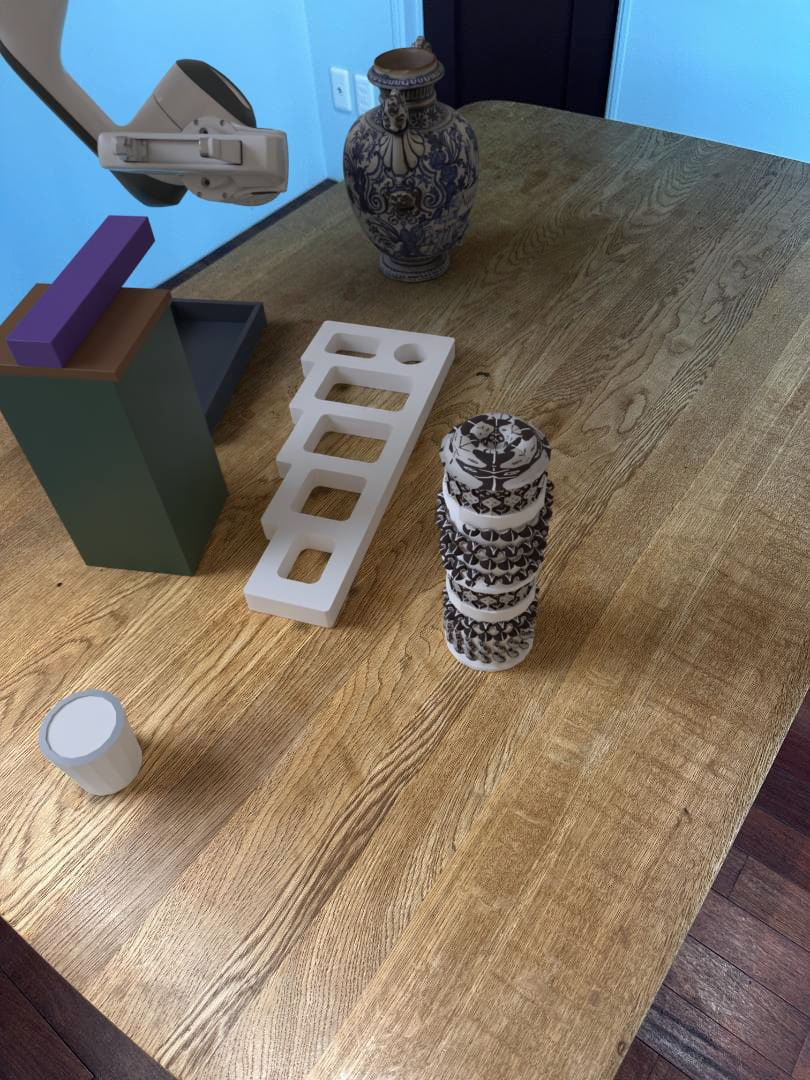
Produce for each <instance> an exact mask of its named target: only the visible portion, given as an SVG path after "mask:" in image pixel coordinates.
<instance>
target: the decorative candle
mask: <svg viewBox="0 0 810 1080" xmlns="http://www.w3.org/2000/svg"><path fill="white" fill-rule="evenodd" d="M438 454H439V458H440V460H441V461H440V462H441V464H442V467H443V469H444V473H443V474H444V475H443V478H442V489H440V490H439V491H437V494H436V500H437V502H438V505H436V506H435V514H436V516H437V518H436V519H435V523H436V526H437V527H438V528H439V529H440V534H439V536H438V543H439V545H440V546H439V548H438V552H439V553H440V555H441V558H442V566H443V568H444V569H445V572H446V575H445V577H444V584H445V586H444V587H443V588H442V591H441V595H442V596H443V597H444V599H443V600H442V605H443V607H444V609H443V612H442V618H443V623H442V626H443V629H444V638H445V642H446V645H447V649H448V650H449V652H450V654H452V655H453V656H454V658H455V659H456V660H457V661H458V662H459V663H461V664H463V665H464V666H466V667H468V668H470V669H472V670H473V671H482V672H487V673H495V672H501V671H506V670H510V669H512V668H513V667H516V665H518V664H519V663H522V662H524V660H525V659H526V658H527V656H528V655H529V653H530V651H531V650H532V649H533V644H534V638H535V637H536V633H535V629H536V628H537V621H536V620H535V618H536V617H537V616H538V610H537V607H538V606H539V598H538V597H537V596H538V595H540V590H541V588H540V587H539V586H538V584H537V579H538V573H539V571H540V570H541V568H542V563H543V562H544V559H545V556H544V551H545V549H546V548H547V546H548V540H547V538H546V537H547V536H548V535H549V531H550V525H549V521H550V519H551V518H552V517H553V513H554V512H553V508H552V506H553V504H554V497H555V496H554V495H553V493H551V492H552V491H553V490H554V489H555V484H554V483H553V481H552V480H550V479H548V477H549V473H548V471H547V470H546V469H547V468H548V467H549V466H550V462H551V455H552V448H551V445H550V443H549V441H548V438H547V437H546V435H545V434H544V432H542V431H540V429H538V428H537V427H536V426H535V425H533V424H532V423H530V422H528V421H525V420H524V419H523V418H521V417H518V416H516V415H513V414H510V413H507V412H506V413H505V412H495V411H492V412H486V413H480V414H477V415H475V416H472V417H471V418H469V419H467V420H465V421H463V422H461V423H459V424H457V425H455V426H453V428H451V430H449V432H448V433H447V434H445V436H444V437H443V438H442V441H441V445H440V449H439V452H438Z"/></svg>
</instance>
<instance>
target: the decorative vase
mask: <svg viewBox="0 0 810 1080" xmlns="http://www.w3.org/2000/svg"><path fill="white" fill-rule="evenodd" d="M431 45H432V44H431V43H430V42H428V41H427V40H426V39H425V37H424V36H423V35H418V36H417V37H416V40H415V41H414V42H412V43H411V45H410V46H409V47H400V48H399V47H398V48H393V49H389V50H387V51H384V52H382V53H380V54H379V55H378V56H376V57H375V58H374V60H373V65H371V66H370V67H369V69H368V70H367V74H366V78H367V80H368V82H369V83H370V84H371V85H373V86H375V87H377V88H378V89H379V92H380V93H379V94H378V97H377V98H378V101H379V103H380V104H379V105H376V106H374V107H372V108H370V109H368V110H366V111H365V112H363V113H362V114H360V116H358V117H357V119H356V120H355V121H353V124H352V125H351V126H350V128H349V130H348V132H347V135H346V137H345V140H344V144H343V151H342V173H343V180H344V186H345V192H346V195H347V199H348V201H349V204H350V207H351V209H352V211H353V214H354V216H355V218H356V220H357V222H358V225H359V226H360V228H361V229H362V231H363V232H364V234H365V236H366V237H367V239H368V240H369V241H370V242H371V243H372V245H374V247H375V248H376V249H377V250H378V251H380V252H381V254H380V257H379V268H380V270H381V272H382V273H383V274H384V275H385V276H386V277H388V278H390V279H392V280H393V281H394V280H395V281H398V282H403V283H423V282H427V281H431V280H434V279H437V278H439V277H441V276H443V274H445V273H446V272H447V270H448V269H449V268H450V267H449V266H450V263H451V258H450V254H449V252H450V251H453V249H454V248H458V247H460V246H462V245H463V243H464V241H463V240H464V239H465V233H466V231H467V230H468V228H469V226H470V223H469V217H470V214H471V212H472V210H473V206H474V203H475V201H476V197H477V191H478V187H479V178H480V152H479V146H478V140H477V136H476V134H475V131H474V129H473V128H472V125H471V124H470V123H469V121H468V120H467V119H466V117H465V116H463V115H462V114H461V113H460V112H458V111H457V110H456V109H455V108H453V107H452V106H450V105H448V104H446V103H444V102H441V101H438V99H437V98H436V97H437V92H436V90H435V88H434V86H435V84H436V83H437V82H438V81H440V80H441V79H442V78H443V76H444V75H445V72H446V70H445V67H444V65H443V63H442V62H440V61H439V60H438V59H437V56H436V54H435V53H434V52H433V51H432V46H431Z"/></svg>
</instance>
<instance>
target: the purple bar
mask: <svg viewBox="0 0 810 1080" xmlns="http://www.w3.org/2000/svg"><path fill="white" fill-rule="evenodd" d="M155 243H156V239H155V235H154V232H153V229H152V225H151V222H150V219H149V217H148V215H146V216H145V215H144V216H143V215H119V214H118V215H116V214H109V215H108V216H106V218H105V219H104V220H103V221H102V223H101V224H100V225H99V226H98V227H97V229H96V230H95V231H94V232H93V233H92V235H91V236H90V237H89V239H87V240H86V242H84V244H83V245H82V246H81V248H80V249H79V250H78V251H77V253H75V255H74V256H73V258H72V259H71V260H70V261H69V262H68V263H67V264H66V266H65V267H64V268H63V270H61V271H60V273H59V274H58V275H57V277H55V279H54V280H53V281H52V282H51V283H50V284H51V285H50V286H49V288H48V289H47V290H46V291H45V292H44V294H43V295H42V296H41V297H40V298H39V300H38V301H37V302H36V303H35V304H34V306H33V307H32V308H31V309H30V310H29V312H28V313H27V314H26V315H25V316H24V318H23V319H22V320H21V321H20V322H19V324H18V325H17V326H16V327H15V328H14V330H13V331H12V332H11V333H10V334H9V336H8V337H7V338H6V339H5V341H6V343H7V345H8V347H9V349H10V351H11V353H12V355H13V356H14V358H15V360H16V362H17V364H18V365H20V366H36V367H51V368H63V367H64V366H65V365H66V363H67V362H68V360H69V359H70V358H71V356H72V355H73V354H74V352H75V351H76V349H77V348H78V347H79V345H80V344H81V343H82V341H83V340H84V338H85V337H86V336H87V334H88V333H89V332H90V330H91V329H92V327H93V326H94V325H95V323H96V322H97V321H98V319H99V318H100V316H101V315H102V314H103V312H104V311H105V310H106V308H107V307H108V305H109V304H110V303H111V301H112V300H113V299H114V297H115V296H116V294H117V293H118V292H119V290H120V289H121V288H122V287H124V285H125V284H126V282H127V281H128V279H129V278H130V277H131V275H132V274H133V273H134V271H135V270H136V268H137V267H138V265H139V264H140V263H141V261H142V260H143V259H144V257H145V256H146V255H147V254H148V252H149V251H150V249H151V248H152V247H153V244H155Z"/></svg>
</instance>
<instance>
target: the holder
mask: <svg viewBox="0 0 810 1080" xmlns="http://www.w3.org/2000/svg"><path fill="white" fill-rule="evenodd" d="M339 351H348V352H355V353H360V354H368V355H374V356H373V357H370V358H366V357H360V356H353V355H346V354H339V353H337V352H339ZM455 358H456V340H455V338H454V337H451V336H445V335H437V334H431V333H430V334H428V333H423V332H415V331H408V330H401V329H394V328H393V329H392V328H385V327H380V326H379V327H377V326H373V325H372V326H371V325H363V324H356V323H349V322H342V321H334V320H325V321H324V322H323V323H322V324H321V326H320V327H319V329H318V331H317V332H316V334H315V335H314V337H313V338H312V340H311V341H310V343H309V345H308V346H307V347H306V349H305V351H304V352H303V354H302V355H301V357H300V363H301V369H302V375H303V378H305V379H303V380H304V381H303V382H302V384H301V385H300V387H299V388H298V390H297V391H296V393H295V395H294V397H293V398H292V400H291V401H290V402H289V405H288V409H289V412H290V418H291V422H292V425H294V428H293V429H292V431H291V432H290V434H289V436H288V437H287V439H286V441H284V442H285V443H283V445H282V447H281V449H280V451H279V452H278V454H277V455H276V457H275V462H276V466H277V471H278V474H279V478H280V479H282V482H281V484H280V485H279V487H278V489H277V490H276V492H275V494H274V496H273V498H272V499H271V501H270V502H269V504H268V506H267V508H266V509H265V511H264V512H263V514H262V516H261V517H260V523H261V526H262V530H263V533H264V537H265V540H268V541H269V542H268V545H267V546H266V548H265V550H264V551H263V554H262V555H261V557H260V559H259V561H258V563H257V564H256V566H255V568H254V570H253V572H252V573H251V575H250V577H249V579H248V580H247V582H246V584H245V586H244V588H243V595H244V597H245V600H246V603H247V606H248V610H250V611H254V612H258V613H262V614H266V615H271V616H275V617H278V618H284V619H287V620H291V621H296V622H301V623H305V624H308V625H312V626H316V627H322V628H326V629H331V628H333V627H334V625H335V623H336V621H337V619H338V616H339V614H340V611H341V609H342V607H343V605H344V603H345V601H346V598H347V596H348V594H349V592H350V590H351V587H352V585H353V583H354V581H355V578H356V577H357V574H358V573H359V571H360V568H361V565H362V564H363V561H364V559H365V556H366V554H367V553H368V551H369V548H370V546H371V543H372V542H373V539H374V537H375V534H376V532H377V530H378V528H379V525H380V524H381V522H382V519H383V517H384V515H385V513H386V510H387V509H388V506H389V504H390V501H391V499H392V497H393V495H394V493H395V490H396V488H397V486H398V483H399V482H400V480H401V477H402V475H403V473H404V471H405V468H406V466H407V464H408V462H409V461H410V460H409V459H410V457H411V456H412V453H413V451H414V449H415V447H416V444H417V442H418V439H419V438H420V435H421V433H422V431H423V429H424V426H425V424H426V423H427V420H428V418H429V415H430V414H431V411H432V410H433V407H434V404H435V402H436V401H437V398H438V395H439V394H440V391H441V389H442V387H443V384H444V382H445V381H446V378H447V376H448V374H449V371H450V370H451V367H452V365H453V363H454V360H455ZM412 361H414V362H418V363H413V364H408V363H407V362H412ZM337 384H344V385H351V386H357V387H363V388H368V389H369V388H370V389H376V390H382V391H389V392H394V393H401V394H408V398H407V400H406V402H405V404H404V406H403V408H402V409H400V410H397V411H393V410H387V409H381V408H375V407H369V406H363V405H356V404H351V403H344V402H338V401H332V400H326V399H327V397H328V395H329V394H330V392H331V390H332V389H333V387H334V386H335V385H337ZM329 432H334V433H338V434H339V433H340V434H344V435H349V436H350V435H351V436H356V437H362V438H367V439H374V440H379V441H385V442H386V443H385V444H384V447H383V449H382V451H381V453H380V455H379V457H378V459H377V460H376V461H374V462H367V461H361V460H354V459H350V458H343V457H338V456H333V455H327V454H321V453H317V452H315V450H316V448H317V446H318V445H319V443H320V441H321V439H322V438H323V436H324V435H325V434H326V433H329ZM317 487H324V488H330V489H334V490H339V491H340V490H341V491H345V492H351V493H354V494H355V493H356V494H360V495H359V498H358V499H357V501H356V504H355V506H354V508H353V510H352V513H351V514H350V516H349V517H348V518H347V519H346V520H336V519H331V518H328V517H327V518H326V517H322V516H316V515H311V514H307V513H302V510H303V508H304V506H305V504H306V502H307V501H308V499H309V498H310V495H311V493H312V491H314V489H315V488H317ZM308 549H310V550H315V551H319V552H323V553H324V552H325V553H329V554H331V555H330V557H329V559H328V562H327V564H326V566H325V567H324V570H323V571H322V573H321V576H320V578H319V579H318V580H317V581H316V582H313V583H306V582H302V581H297V580H293V579H289V578H288V577H289V575H290V573H291V571H292V569H293V567H294V566H295V563H296V561H297V560H298V557H299V555H300V554H301V553H302V551H304V550H308Z"/></svg>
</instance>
